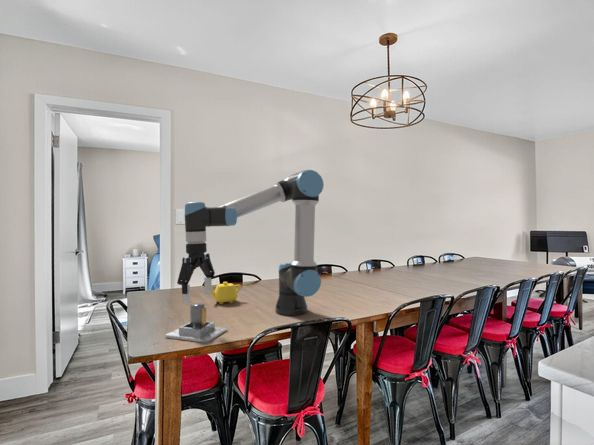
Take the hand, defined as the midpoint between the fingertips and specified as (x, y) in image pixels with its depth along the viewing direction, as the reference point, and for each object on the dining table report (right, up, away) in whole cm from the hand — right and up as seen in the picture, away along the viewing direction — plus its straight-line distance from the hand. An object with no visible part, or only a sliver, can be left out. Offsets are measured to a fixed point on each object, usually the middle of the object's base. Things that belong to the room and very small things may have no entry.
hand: (198, 298), depth 126 cm
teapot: (-1, -14, +49) cm, 51 cm away
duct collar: (0, -14, 0) cm, 14 cm away
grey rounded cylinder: (0, -13, 0) cm, 13 cm away
